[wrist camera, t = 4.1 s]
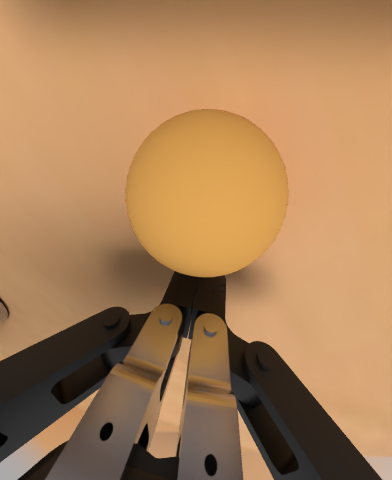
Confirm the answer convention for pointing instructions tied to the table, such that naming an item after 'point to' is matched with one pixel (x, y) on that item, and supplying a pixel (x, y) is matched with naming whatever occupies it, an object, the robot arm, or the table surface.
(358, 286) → the table surface
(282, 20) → the table surface
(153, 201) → the ball
